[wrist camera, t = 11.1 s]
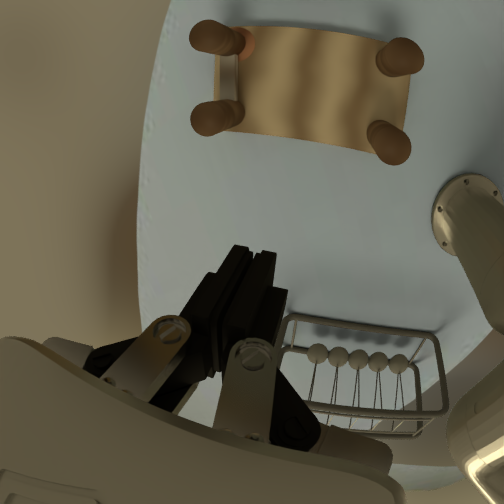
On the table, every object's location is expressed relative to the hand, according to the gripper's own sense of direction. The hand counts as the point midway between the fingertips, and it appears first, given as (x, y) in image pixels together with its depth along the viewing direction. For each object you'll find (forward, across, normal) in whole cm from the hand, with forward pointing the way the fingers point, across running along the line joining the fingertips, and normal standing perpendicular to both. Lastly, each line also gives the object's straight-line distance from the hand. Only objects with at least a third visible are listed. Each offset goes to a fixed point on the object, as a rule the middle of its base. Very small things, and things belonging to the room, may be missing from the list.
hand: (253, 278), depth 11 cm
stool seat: (+27, +1, -8) cm, 28 cm away
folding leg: (+25, +10, -8) cm, 28 cm away
